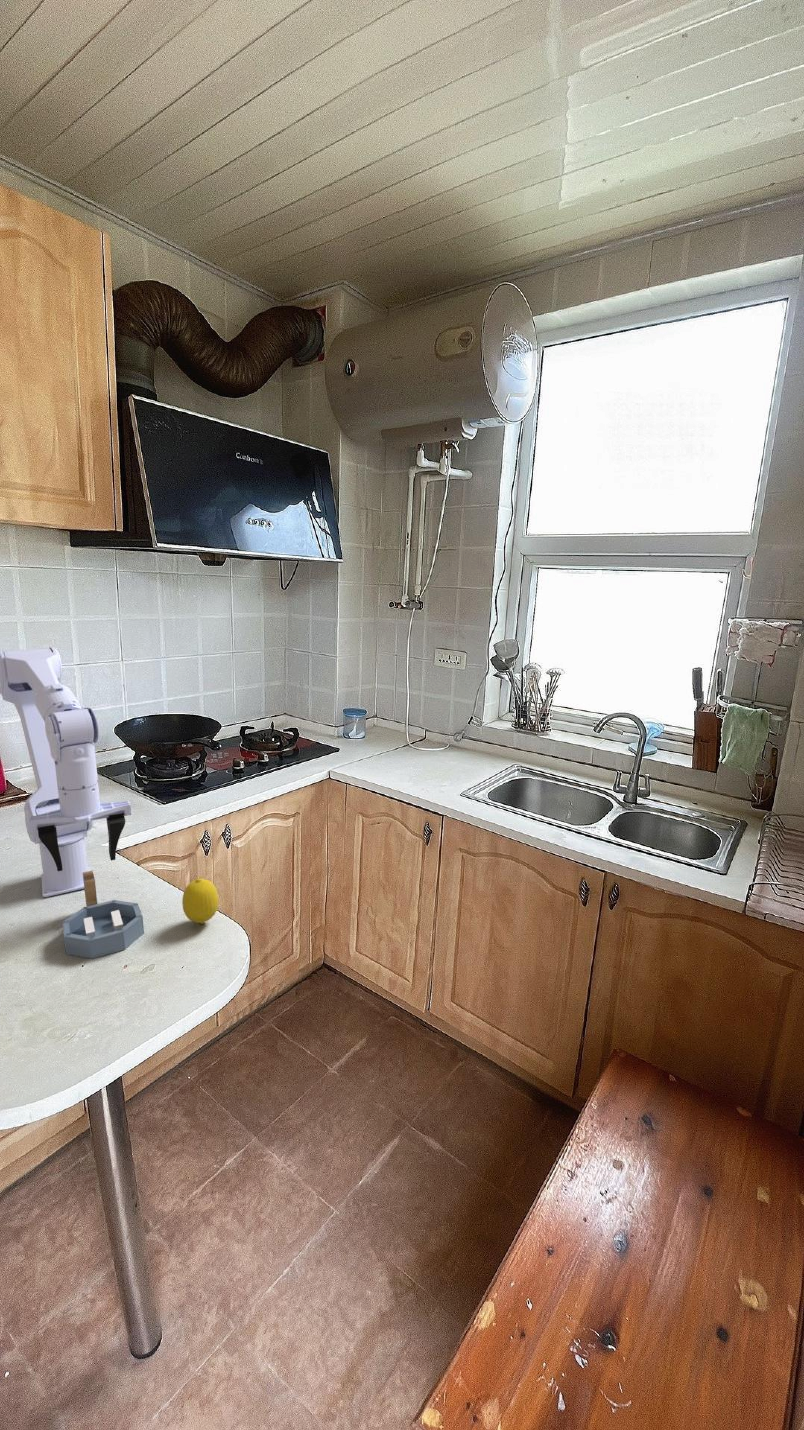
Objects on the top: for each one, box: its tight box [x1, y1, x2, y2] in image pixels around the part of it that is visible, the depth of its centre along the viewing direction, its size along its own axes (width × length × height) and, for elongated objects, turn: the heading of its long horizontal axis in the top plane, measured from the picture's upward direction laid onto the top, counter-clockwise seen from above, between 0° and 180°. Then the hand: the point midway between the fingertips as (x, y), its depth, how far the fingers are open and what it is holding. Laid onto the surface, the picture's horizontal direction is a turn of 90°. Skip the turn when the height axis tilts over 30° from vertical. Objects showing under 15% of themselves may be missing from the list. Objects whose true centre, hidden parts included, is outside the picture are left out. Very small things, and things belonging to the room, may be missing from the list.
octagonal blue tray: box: [61, 899, 145, 960], centre depth 94 cm, size 11×11×3 cm
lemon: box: [181, 877, 219, 925], centre depth 98 cm, size 6×6×8 cm
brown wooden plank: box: [83, 870, 98, 907], centre depth 100 cm, size 4×2×7 cm, turn 31°
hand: (86, 863), depth 99 cm, fingers open, 7 cm apart
